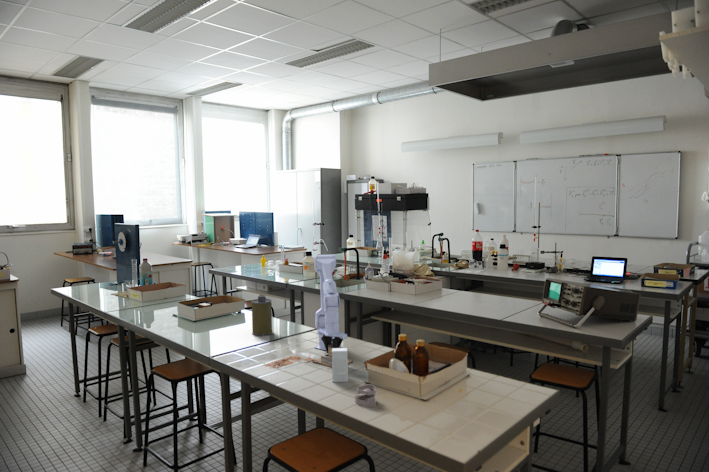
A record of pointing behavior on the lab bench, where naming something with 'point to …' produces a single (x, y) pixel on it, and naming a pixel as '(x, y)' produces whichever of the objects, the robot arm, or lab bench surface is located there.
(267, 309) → the canister
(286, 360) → the bark
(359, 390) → the dental mold
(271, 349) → the lab bench surface
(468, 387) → the lab bench surface
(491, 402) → the lab bench surface
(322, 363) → the holder board
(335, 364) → the skincare box
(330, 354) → the wood peg
